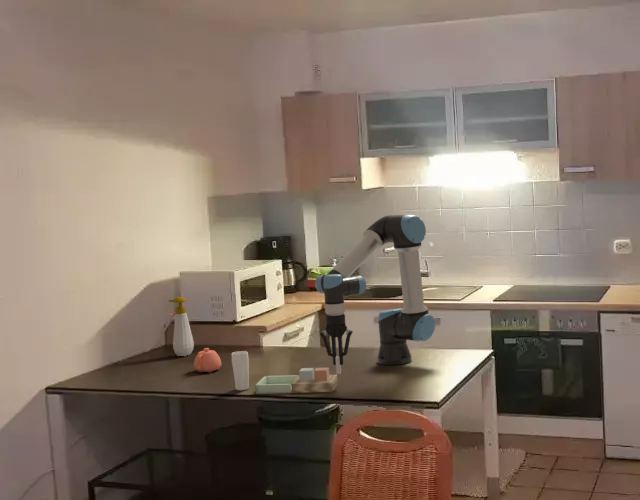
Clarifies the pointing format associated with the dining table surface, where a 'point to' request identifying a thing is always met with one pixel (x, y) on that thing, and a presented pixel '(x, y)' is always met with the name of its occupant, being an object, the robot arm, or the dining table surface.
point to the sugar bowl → (207, 361)
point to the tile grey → (306, 374)
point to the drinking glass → (241, 369)
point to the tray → (275, 384)
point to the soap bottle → (182, 330)
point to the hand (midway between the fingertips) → (338, 373)
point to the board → (314, 385)
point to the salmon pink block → (321, 374)
